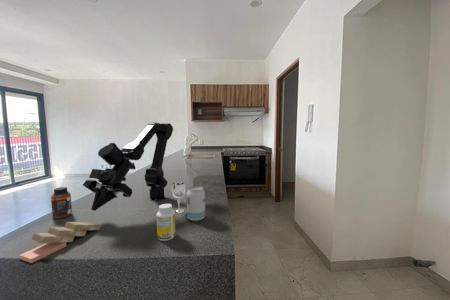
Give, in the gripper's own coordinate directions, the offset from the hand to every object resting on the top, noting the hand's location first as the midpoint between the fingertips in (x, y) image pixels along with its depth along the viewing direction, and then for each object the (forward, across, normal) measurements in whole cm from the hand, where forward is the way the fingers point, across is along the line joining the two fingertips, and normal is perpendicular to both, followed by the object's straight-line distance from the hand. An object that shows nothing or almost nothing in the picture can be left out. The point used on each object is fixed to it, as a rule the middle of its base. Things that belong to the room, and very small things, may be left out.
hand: (93, 210), depth 66 cm
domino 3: (+7, 0, +1) cm, 7 cm away
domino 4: (+4, 0, +4) cm, 6 cm away
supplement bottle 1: (+2, -22, +7) cm, 23 cm away
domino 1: (+10, 0, -2) cm, 10 cm away
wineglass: (-11, +20, +21) cm, 31 cm away
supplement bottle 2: (+2, +27, +7) cm, 28 cm away
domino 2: (+12, 0, -3) cm, 12 cm away
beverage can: (-8, +30, +18) cm, 36 cm away
